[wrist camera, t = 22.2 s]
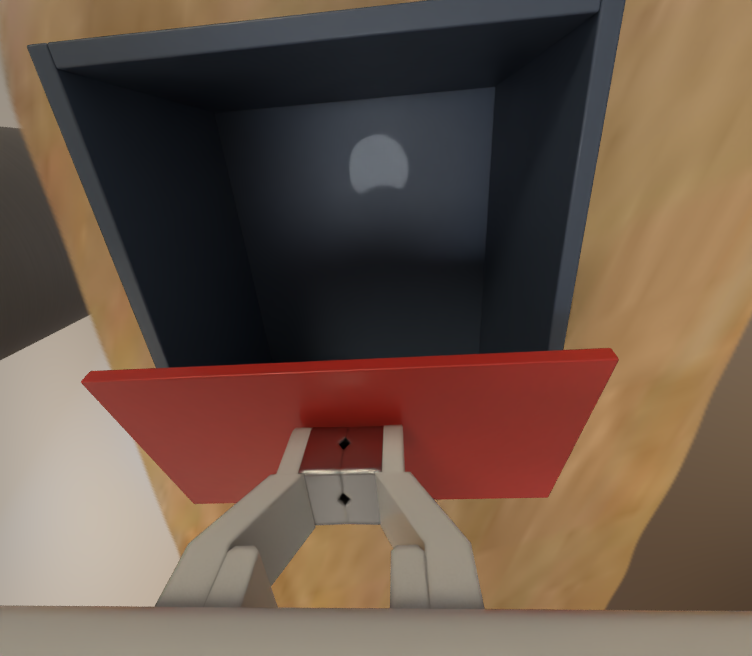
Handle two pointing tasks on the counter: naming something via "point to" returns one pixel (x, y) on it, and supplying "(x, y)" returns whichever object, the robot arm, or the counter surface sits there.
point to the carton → (343, 175)
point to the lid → (365, 416)
